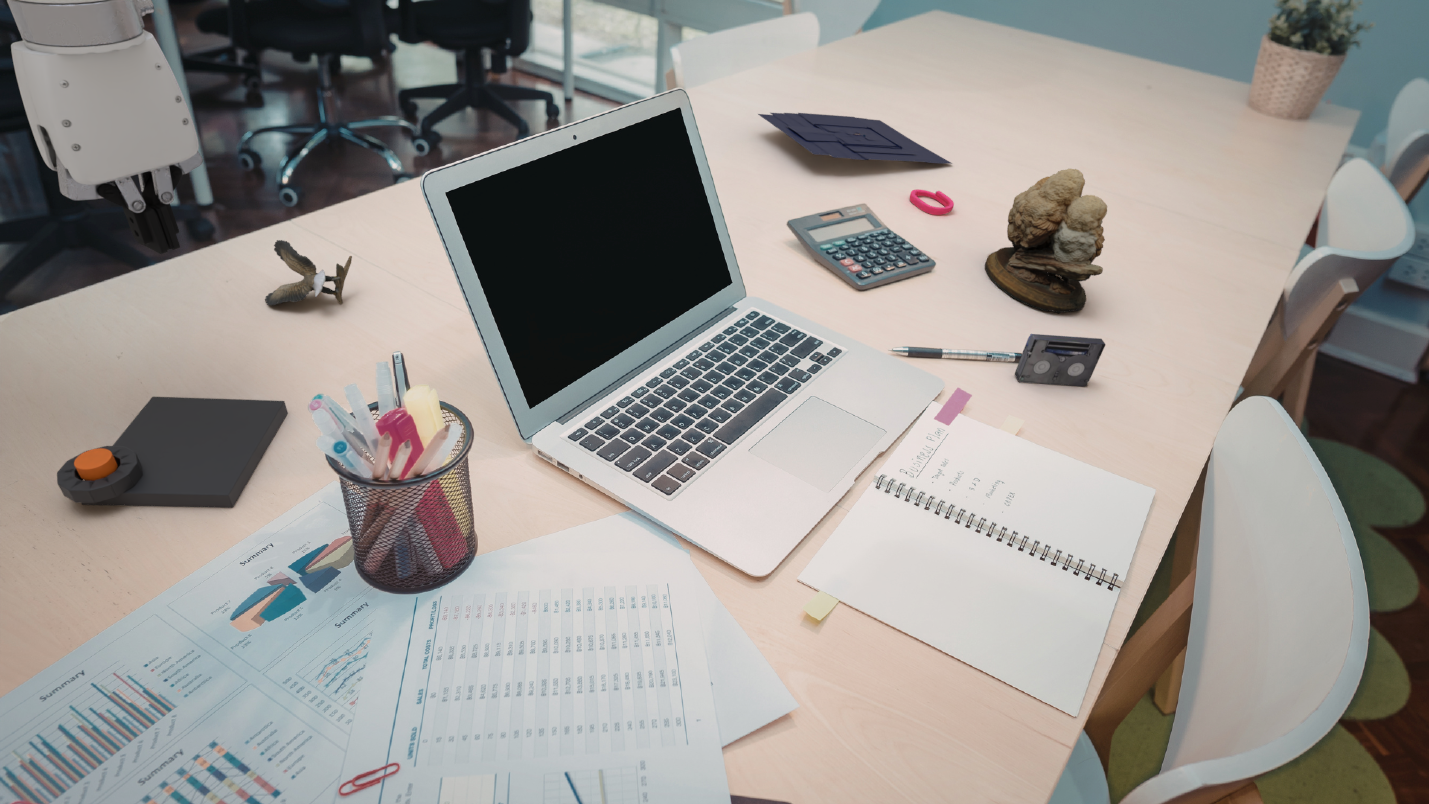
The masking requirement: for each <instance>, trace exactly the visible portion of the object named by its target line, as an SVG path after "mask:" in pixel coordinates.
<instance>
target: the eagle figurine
mask: <svg viewBox="0 0 1429 804" xmlns="http://www.w3.org/2000/svg"><path fill="white" fill-rule="evenodd" d="M273 247H274V248H273V251H274V252H275V253H276V255H277V256H278V257H279V259H280V260H281V261H283V262H284V263H285V264H286V266H287V267H288V268H289V269H290V270H292V271H293V272H295V273H297V274H298V275H300V276H303V279H302V280H300V281H299V280H298V281H296V282H292V283H286V284H282V285H280V286H278V288H277V289H275V290H273V291H272V292H269V293H268V294H267V295H266V296H265V298H264V301H265V304H267V306H276V305H278V304H282V303H289V302H291V303H297V302H300V301H304V300H305V299H306V298H307V296H308V295H309V294H310V292H313V291H314V296H315V297H316V298H317V297H318V296H319V294H320V293H323V294H327V295H331V296H332V295H333V296H334V298H335V300H336V301H337V303H339V305H343V297H342V296H343V291H344V286H345V281H346V278H347V275H348V272H349V270H350V267H351V265H352V259H353V256H352V255H350V256H349V257H348V259H347V261H346V262H345V264H344V266H343V265H342V264H339V263H336V265H335V276H334V275H333V276H331V275H326V272H325V270H324V269H321V270H320V271H319V272H317V266H316V264H314V262H313V261H312V260H311V259H310V258H309V257H308V256H307V255H301V254H300V253H299V252H298V251H297V250H295V248H294V247H293V246H292V245H291V243H290V242H288V241H287V240H283V239H277V240H276V241H275V242H274V245H273ZM329 282H333V284H334V289H331V288H330V287H327V286H325V283H329Z"/></svg>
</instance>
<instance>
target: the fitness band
mask: <svg viewBox="0 0 1429 804" xmlns="http://www.w3.org/2000/svg"><path fill="white" fill-rule="evenodd" d="M919 197H926V198H931V199H933V200H935V201H937V202H938V203H940V204H941V205H943V206H942V207H940V206H939V207H938V206H933V205H930V204H928V203H926V202H925V201H923V200H922V199H921V198H919ZM909 202H911V204H913V205H914V206H915V207H916V208H918V209H919V210H921V211H922V212H923V213H926V214H929V215H932V216H933V215H934V216H941V215H946V214H948V213H950V212H952V211H953V209H954V206H955V202H954V200H953V199H952V198H951V197H950V196H948V195H946V194H945V193H943V192H942V191H941V190H936V191H935V192H933V191H929V190H926V189H913V190H911V191H910V194H909Z"/></svg>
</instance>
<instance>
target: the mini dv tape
mask: <svg viewBox="0 0 1429 804" xmlns="http://www.w3.org/2000/svg"><path fill="white" fill-rule="evenodd" d="M1105 347H1106V343H1105V342H1104V340H1103V339H1102V338H1096V337H1085V336H1084V337H1083V336H1067V335H1053V334H1038V333H1030V334H1029V335H1028V338H1027V340H1026V343H1025V345H1024V348H1023V350H1022V353H1021V356H1020V359H1019V361H1018V363H1017V366H1016V368H1015V371H1014V376H1015V378H1016V380H1017V383H1024V384H1025V383H1026V384H1041V385H1052V386H1069V387H1070V386H1071V387H1081V388H1083V387H1084V388H1086V387H1087V386H1088V384H1089V382H1090V380H1091V378H1092V376H1093V374H1094V371H1095V369H1096V367H1097V365H1098V363H1099V361H1100V359H1101V356H1102V355H1103V351H1104V349H1105Z"/></svg>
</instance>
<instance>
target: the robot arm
mask: <svg viewBox="0 0 1429 804" xmlns="http://www.w3.org/2000/svg"><path fill="white" fill-rule="evenodd" d="M6 2H7V4H8V7H9V9H10V12H11V14H12V17H13V19H14V22H15V24H16V26H17V29H18V32H19V34H20V36H21V39H22V40H19V41H15V42H12V43H11V44H10V49H11V51H10V52H11V57H12V62H13V63H12V64H13V68H14V73H15V77H16V82H17V85H18V89H19V93H20V97H21V100H22V103H23V107H24V110H25V111H24V112H25V115H26V117H27V120H28V123H29V126H30V129H31V132H32V135H33V137H34V140H35V143H36V146H37V148H38V151H39V153H40V155H41V157H42V160H43V162H44V163H45V165H46V166H47V167H48V168H49V169H51V170H52V171H54V172H57V179H58V186H59V192H60V194H62V195H63V196H64V197H66V198H67V199H70V200H72V201H90V200H98V199H99V200H100V199H105V200H107V201H109V202H111V203H114V204H116V205H118V206H121V208H122V210H123V213H124V215H125V218H126V221H127V224H128V225H129V228H130V230H131V234H132V236H133V239H135V241H136V242H137V243H138V244H140V245H142V246H144V247H146V248H148V249H150V250H152V251H154V252H156V253H157V254H160V255H163V254H165V253H168V251H169V250H172V251H175V250H177V249H180V248H181V245H180V242H179V239H178V237H177V235H178V234H179V233H180V229H179V226H178V223H177V220H176V217H175V215H174V211H173V208H172V205H171V204H172V203H173V202H174V200H175V193H174V192H175V190H176V188H177V186H178V184H179V183H180V181H181V179H182V177H183V175H186V174H189V173H190V172H192V171H193V170H195V169H197V168H199V167H201V166H202V165H203V163H204V159H203V157H202V155H201V154H200V152H199V149H200V146H199V145H200V143H199V138H198V134H197V131H196V126H195V124H194V121H193V117H192V115H191V112H190V110H189V107H188V104H187V102H186V99H185V96H184V94H183V92H182V88H181V87H180V85H179V83H178V80H177V78H176V76H175V74H174V71H173V70H172V68H171V65H170V63H169V62H168V60H167V58H166V56H165V53H164V52H163V50H162V48H161V46H160V45H159V43H158V42H157V40H156V38H155V36H154V35H153V33H151V32H149V31H147V30H146V29H144V28H145V27H146V26H145V23H144V20H143V17H145V16H146V15H147V14H153V13H154V12H155V5H154V2H153V0H6ZM136 175H138V176H137V177H138V181H139V187H140V191H141V193H140V191H139V189H138V187H137V185H136V183H135V181H134V180H133V178H132V177H133V176H136Z"/></svg>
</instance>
